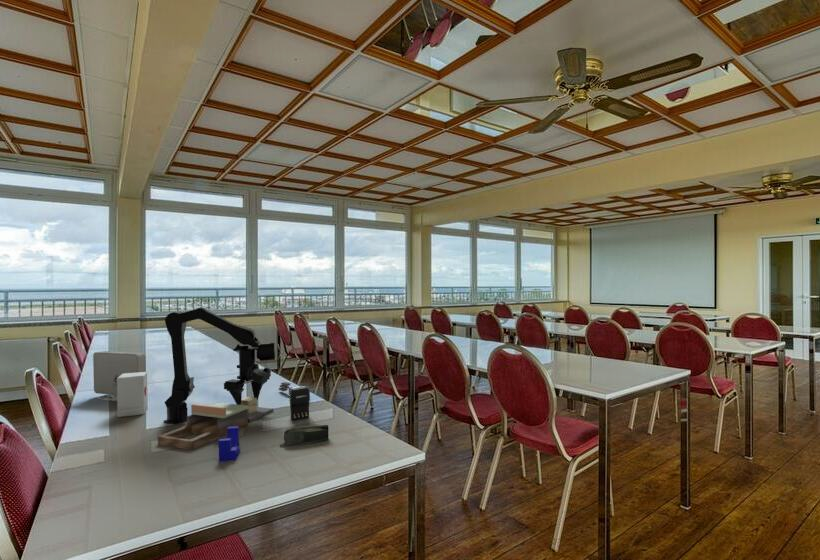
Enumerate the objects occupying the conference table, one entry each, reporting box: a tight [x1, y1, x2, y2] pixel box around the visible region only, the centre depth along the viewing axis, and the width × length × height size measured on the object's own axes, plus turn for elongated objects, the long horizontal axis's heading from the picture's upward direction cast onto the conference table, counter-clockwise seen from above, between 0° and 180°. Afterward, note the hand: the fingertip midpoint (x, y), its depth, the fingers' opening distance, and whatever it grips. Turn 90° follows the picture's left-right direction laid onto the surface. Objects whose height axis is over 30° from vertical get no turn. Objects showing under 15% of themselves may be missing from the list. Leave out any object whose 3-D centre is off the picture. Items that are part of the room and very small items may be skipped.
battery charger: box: [289, 386, 311, 421], centre depth 162 cm, size 7×4×11 cm, turn 118°
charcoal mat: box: [247, 406, 274, 422], centre depth 168 cm, size 13×13×1 cm
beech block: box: [241, 396, 258, 414], centre depth 168 cm, size 4×4×5 cm
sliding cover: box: [190, 402, 249, 418], centre depth 154 cm, size 14×12×3 cm
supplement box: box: [116, 371, 149, 418], centre depth 173 cm, size 9×9×15 cm
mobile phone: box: [279, 424, 329, 447], centre depth 139 cm, size 5×3×15 cm
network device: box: [92, 350, 147, 402], centre depth 196 cm, size 26×9×20 cm, turn 73°
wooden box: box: [157, 409, 248, 451], centre depth 148 cm, size 14×24×6 cm, turn 159°
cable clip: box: [218, 426, 241, 462], centre depth 132 cm, size 12×4×6 cm, turn 10°
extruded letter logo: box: [278, 381, 294, 396], centre depth 193 cm, size 25×2×6 cm, turn 42°
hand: (248, 403), depth 168 cm, fingers open, 9 cm apart
